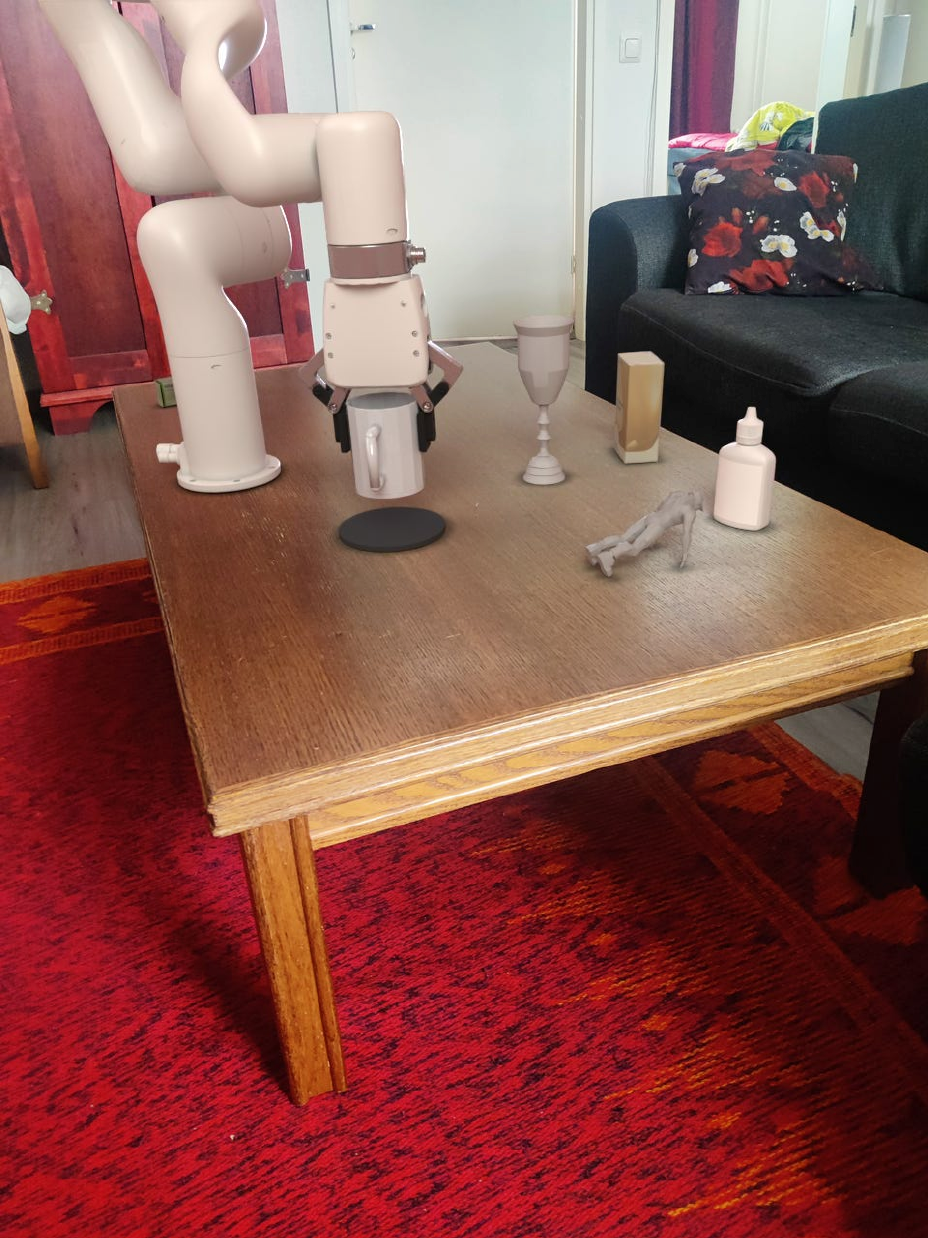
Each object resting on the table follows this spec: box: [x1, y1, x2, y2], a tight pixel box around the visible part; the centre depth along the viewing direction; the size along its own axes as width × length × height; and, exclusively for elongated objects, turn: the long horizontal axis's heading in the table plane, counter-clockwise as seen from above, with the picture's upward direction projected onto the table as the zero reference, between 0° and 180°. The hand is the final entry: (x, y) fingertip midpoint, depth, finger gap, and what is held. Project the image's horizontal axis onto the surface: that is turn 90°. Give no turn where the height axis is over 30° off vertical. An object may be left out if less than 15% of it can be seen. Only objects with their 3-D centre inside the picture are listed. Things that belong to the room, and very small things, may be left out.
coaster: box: [338, 506, 447, 553], centre depth 100 cm, size 11×11×1 cm
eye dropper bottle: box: [713, 406, 777, 532], centre depth 95 cm, size 4×6×12 cm
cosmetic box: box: [613, 351, 665, 465], centre depth 116 cm, size 6×4×12 cm
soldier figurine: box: [584, 490, 705, 578], centre depth 89 cm, size 6×5×12 cm
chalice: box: [512, 314, 575, 485], centre depth 109 cm, size 7×7×18 cm
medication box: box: [153, 376, 177, 409], centre depth 152 cm, size 12×3×4 cm, turn 126°
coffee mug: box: [345, 390, 426, 500], centre depth 94 cm, size 10×7×9 cm
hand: (386, 447), depth 96 cm, fingers closed on coffee mug, 7 cm apart
